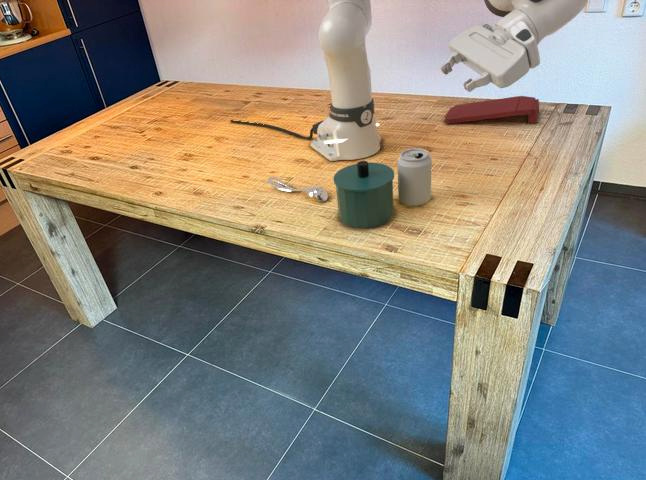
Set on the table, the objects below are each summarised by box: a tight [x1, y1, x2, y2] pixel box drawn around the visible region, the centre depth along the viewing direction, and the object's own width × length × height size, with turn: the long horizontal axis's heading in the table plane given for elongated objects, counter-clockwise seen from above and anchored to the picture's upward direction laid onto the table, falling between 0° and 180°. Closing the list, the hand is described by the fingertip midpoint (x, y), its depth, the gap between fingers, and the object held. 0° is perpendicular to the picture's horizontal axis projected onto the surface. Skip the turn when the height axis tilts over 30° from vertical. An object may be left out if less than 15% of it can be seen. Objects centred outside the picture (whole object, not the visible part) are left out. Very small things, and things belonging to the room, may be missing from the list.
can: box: [397, 147, 433, 207], centre depth 117 cm, size 8×8×12 cm
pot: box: [335, 179, 395, 229], centre depth 116 cm, size 12×12×10 cm
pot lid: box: [333, 160, 395, 192], centre depth 112 cm, size 13×13×4 cm
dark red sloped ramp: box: [444, 95, 540, 125], centre depth 152 cm, size 12×5×25 cm
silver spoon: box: [267, 176, 329, 202], centre depth 132 cm, size 20×4×5 cm
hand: (453, 79), depth 108 cm, fingers open, 8 cm apart
